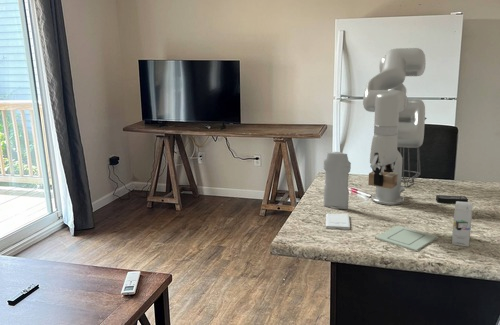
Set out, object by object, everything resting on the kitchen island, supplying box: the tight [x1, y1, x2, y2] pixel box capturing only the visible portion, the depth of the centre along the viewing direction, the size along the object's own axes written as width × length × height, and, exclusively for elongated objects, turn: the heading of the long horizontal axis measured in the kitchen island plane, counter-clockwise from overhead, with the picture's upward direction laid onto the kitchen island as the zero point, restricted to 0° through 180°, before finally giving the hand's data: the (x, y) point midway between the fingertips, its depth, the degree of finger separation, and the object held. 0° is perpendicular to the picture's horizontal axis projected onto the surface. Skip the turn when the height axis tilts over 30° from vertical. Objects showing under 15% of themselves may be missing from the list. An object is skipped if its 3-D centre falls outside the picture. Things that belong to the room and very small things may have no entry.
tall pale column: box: [323, 151, 352, 210], centre depth 171 cm, size 11×4×22 cm, turn 61°
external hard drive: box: [325, 213, 351, 231], centre depth 158 cm, size 2×8×12 cm
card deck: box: [368, 171, 398, 189], centre depth 152 cm, size 5×8×4 cm, turn 51°
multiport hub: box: [435, 194, 469, 205], centre depth 177 cm, size 4×11×2 cm, turn 77°
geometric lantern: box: [399, 117, 428, 188], centre depth 199 cm, size 16×16×35 cm
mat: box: [374, 224, 438, 252], centre depth 143 cm, size 14×14×1 cm
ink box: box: [451, 201, 473, 247], centre depth 139 cm, size 8×5×12 cm, turn 154°
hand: (383, 182), depth 152 cm, fingers closed on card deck, 5 cm apart
